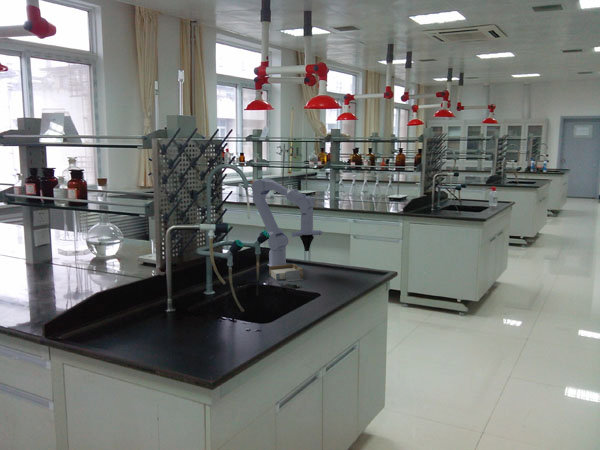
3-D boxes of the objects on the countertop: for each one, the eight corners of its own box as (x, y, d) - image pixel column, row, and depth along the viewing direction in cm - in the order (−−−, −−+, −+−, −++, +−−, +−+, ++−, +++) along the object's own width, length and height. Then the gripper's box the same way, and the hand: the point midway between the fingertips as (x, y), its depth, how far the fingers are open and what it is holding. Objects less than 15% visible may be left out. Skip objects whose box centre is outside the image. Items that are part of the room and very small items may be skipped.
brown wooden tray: (269, 274, 239) (269, 266, 239) (294, 272, 244) (294, 263, 243) (277, 280, 229) (277, 271, 229) (302, 277, 234) (302, 268, 233)
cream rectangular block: (270, 276, 237) (270, 270, 237) (293, 274, 241) (293, 267, 241) (276, 280, 231) (276, 273, 230) (299, 277, 235) (299, 271, 234)
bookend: (285, 279, 231) (285, 271, 231) (299, 277, 234) (299, 269, 233) (288, 281, 228) (288, 273, 227) (303, 279, 230) (303, 272, 230)
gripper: (295, 224, 237) (295, 253, 239) (324, 222, 242) (324, 251, 244) (289, 222, 243) (290, 250, 246) (318, 220, 249) (318, 248, 251)
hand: (306, 250), depth 245 cm, fingers closed
